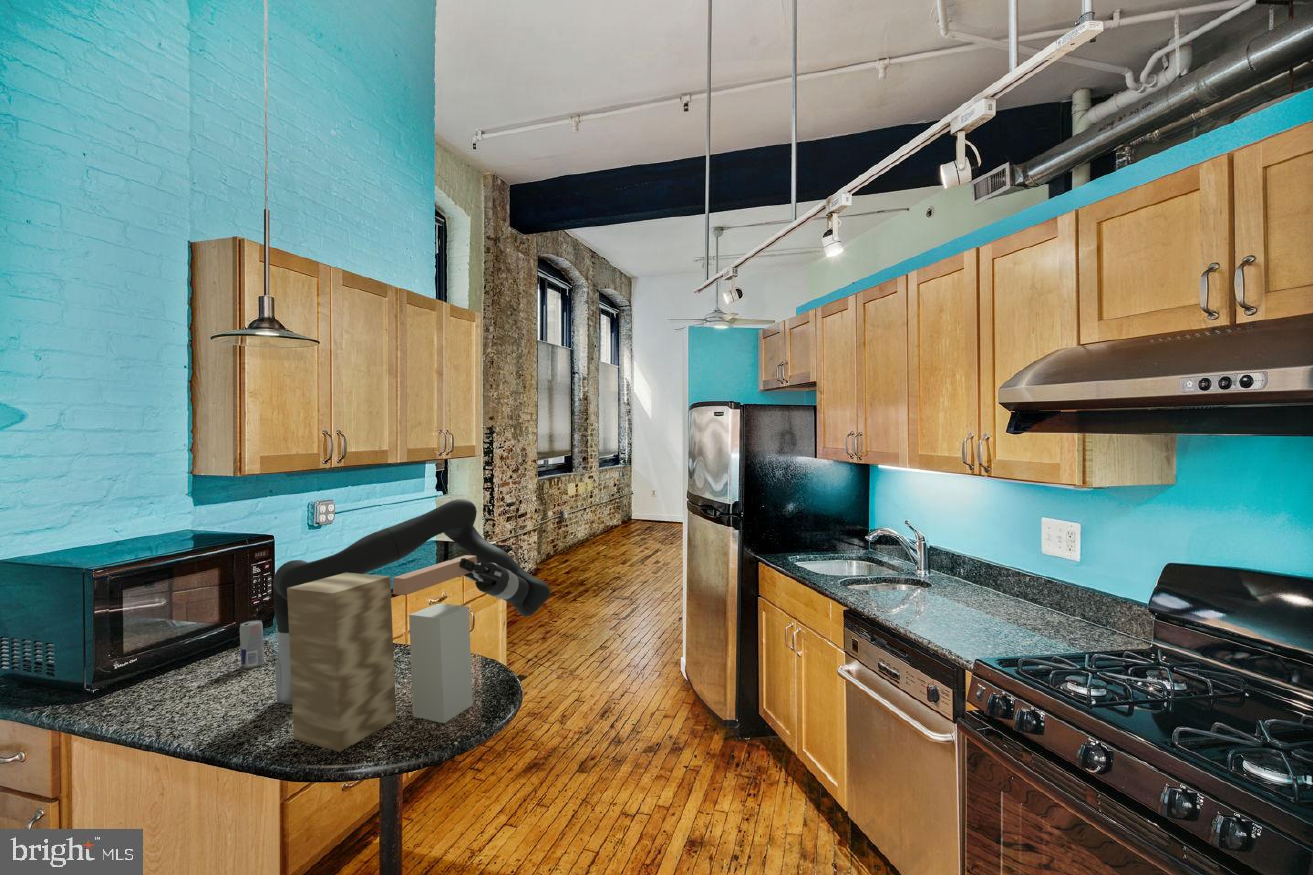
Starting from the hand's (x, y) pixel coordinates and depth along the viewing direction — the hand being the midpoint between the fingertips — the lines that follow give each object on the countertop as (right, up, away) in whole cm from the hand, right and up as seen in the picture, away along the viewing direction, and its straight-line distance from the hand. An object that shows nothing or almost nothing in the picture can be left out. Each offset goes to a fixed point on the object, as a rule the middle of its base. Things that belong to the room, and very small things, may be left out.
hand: (454, 561), depth 140 cm
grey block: (-1, -33, -5) cm, 33 cm away
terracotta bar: (-2, -3, -5) cm, 6 cm away
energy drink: (-67, -35, +28) cm, 81 cm away
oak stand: (-19, -34, -12) cm, 41 cm away
